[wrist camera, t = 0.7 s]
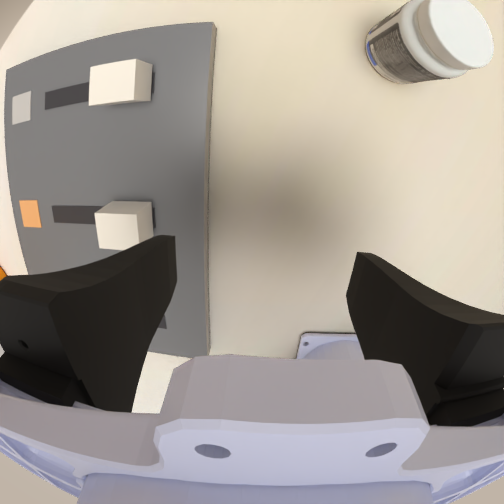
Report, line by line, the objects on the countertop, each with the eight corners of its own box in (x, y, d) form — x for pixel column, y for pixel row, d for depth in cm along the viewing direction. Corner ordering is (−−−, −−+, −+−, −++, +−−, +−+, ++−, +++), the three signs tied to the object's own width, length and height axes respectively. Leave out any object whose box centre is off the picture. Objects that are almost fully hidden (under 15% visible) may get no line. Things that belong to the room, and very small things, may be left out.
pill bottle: (420, 93, 16) (498, 93, 8) (360, 72, 16) (419, 50, 8) (426, 37, 14) (498, 14, 6) (367, 14, 14) (421, -32, 6)
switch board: (210, 348, 26) (207, 360, 25) (54, 320, 26) (47, 329, 25) (216, 28, 15) (212, 21, 13) (17, 69, 15) (5, 69, 14)
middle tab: (153, 235, 19) (140, 251, 17) (115, 233, 20) (99, 248, 17) (151, 202, 18) (136, 214, 16) (112, 200, 18) (94, 213, 16)
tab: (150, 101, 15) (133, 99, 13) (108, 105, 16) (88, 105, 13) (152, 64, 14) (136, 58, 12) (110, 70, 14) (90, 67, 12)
